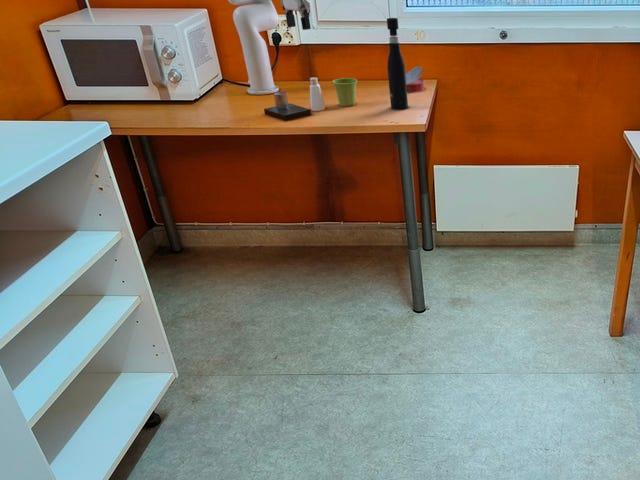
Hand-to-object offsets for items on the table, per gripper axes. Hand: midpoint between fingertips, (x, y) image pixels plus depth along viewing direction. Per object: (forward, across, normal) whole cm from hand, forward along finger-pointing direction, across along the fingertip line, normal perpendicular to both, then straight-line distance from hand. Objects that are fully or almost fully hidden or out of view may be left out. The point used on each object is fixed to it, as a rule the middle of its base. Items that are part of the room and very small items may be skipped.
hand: (299, 28), depth 233 cm
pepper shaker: (+26, -10, +4) cm, 29 cm away
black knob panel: (+26, -8, +16) cm, 32 cm away
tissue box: (+26, -13, -41) cm, 50 cm away
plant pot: (+26, -13, -8) cm, 31 cm away
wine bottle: (+26, -32, -18) cm, 45 cm away
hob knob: (+24, -5, +15) cm, 29 cm away
